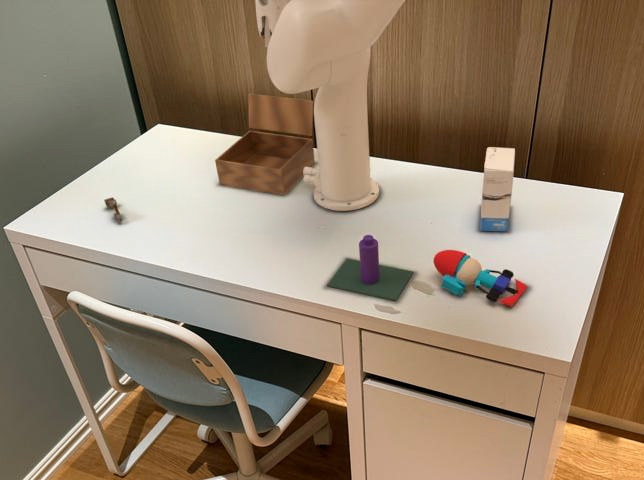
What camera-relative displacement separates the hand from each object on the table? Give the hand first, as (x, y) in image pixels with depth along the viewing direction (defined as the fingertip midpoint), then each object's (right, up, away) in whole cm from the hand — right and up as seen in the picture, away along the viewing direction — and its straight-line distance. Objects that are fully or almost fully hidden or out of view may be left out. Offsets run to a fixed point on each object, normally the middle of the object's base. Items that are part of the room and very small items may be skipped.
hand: (284, 69), depth 143 cm
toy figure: (+32, -47, -30) cm, 64 cm away
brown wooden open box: (-4, -20, +3) cm, 21 cm away
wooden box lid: (-1, -8, +2) cm, 9 cm away
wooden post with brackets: (-32, -30, -4) cm, 44 cm away
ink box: (+39, -33, -16) cm, 53 cm away
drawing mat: (+16, -45, -26) cm, 55 cm away
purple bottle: (+16, -45, -27) cm, 55 cm away
